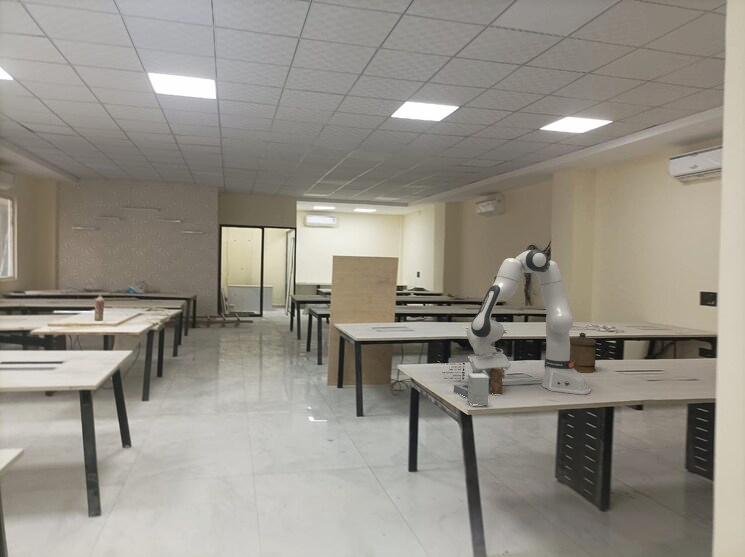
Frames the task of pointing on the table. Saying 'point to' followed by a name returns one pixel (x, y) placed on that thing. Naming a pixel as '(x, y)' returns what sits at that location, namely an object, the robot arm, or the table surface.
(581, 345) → the wooden container
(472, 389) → the supplement box
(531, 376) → the table surface
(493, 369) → the walnut peg
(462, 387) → the slate socket
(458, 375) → the voltmeter
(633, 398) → the table surface
